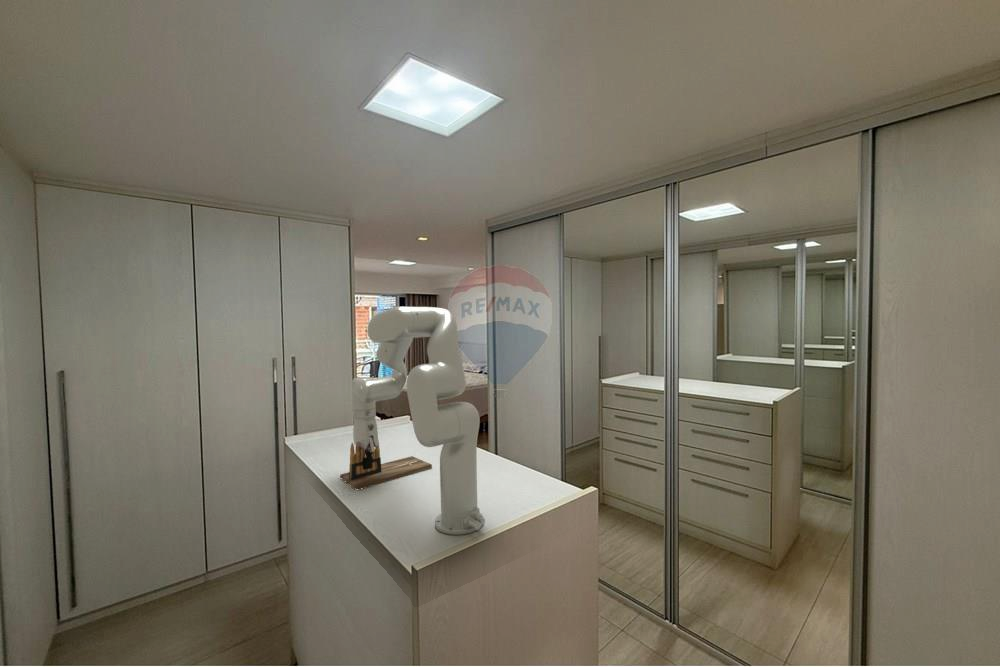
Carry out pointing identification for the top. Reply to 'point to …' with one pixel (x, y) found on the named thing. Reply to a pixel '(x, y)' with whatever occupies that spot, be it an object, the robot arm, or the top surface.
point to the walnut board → (389, 472)
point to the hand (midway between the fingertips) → (365, 466)
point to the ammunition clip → (357, 462)
